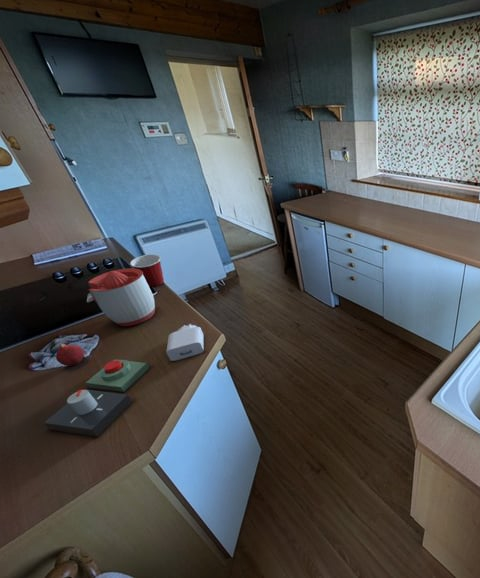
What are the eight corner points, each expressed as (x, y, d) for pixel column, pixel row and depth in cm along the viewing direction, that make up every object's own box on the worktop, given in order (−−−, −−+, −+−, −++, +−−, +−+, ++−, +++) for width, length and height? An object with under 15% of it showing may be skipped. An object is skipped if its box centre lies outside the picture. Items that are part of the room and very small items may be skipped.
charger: (204, 326, 107) (204, 352, 95) (174, 333, 103) (171, 362, 92) (199, 316, 104) (199, 341, 93) (169, 323, 100) (165, 350, 89)
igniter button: (103, 373, 83) (100, 368, 82) (114, 363, 86) (112, 359, 85) (114, 374, 83) (111, 370, 82) (125, 365, 86) (123, 360, 85)
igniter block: (89, 387, 83) (81, 378, 81) (117, 364, 91) (111, 355, 88) (124, 392, 82) (117, 382, 80) (149, 368, 89) (144, 358, 87)
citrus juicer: (103, 317, 110) (73, 271, 99) (157, 300, 120) (136, 256, 109) (105, 338, 100) (73, 289, 90) (164, 318, 110) (141, 272, 99)
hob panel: (50, 430, 72) (43, 422, 70) (90, 396, 81) (84, 388, 79) (97, 436, 71) (90, 429, 69) (132, 401, 79) (127, 394, 78)
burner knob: (94, 411, 73) (84, 399, 71) (74, 417, 72) (62, 404, 69) (100, 399, 76) (90, 386, 74) (80, 404, 75) (70, 392, 72)
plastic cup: (143, 292, 125) (131, 267, 119) (140, 282, 132) (127, 259, 125) (173, 283, 131) (162, 260, 125) (167, 275, 138) (157, 251, 132)
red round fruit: (93, 360, 92) (79, 341, 87) (70, 373, 87) (54, 354, 83) (83, 354, 94) (69, 336, 90) (60, 367, 89) (44, 347, 85)
